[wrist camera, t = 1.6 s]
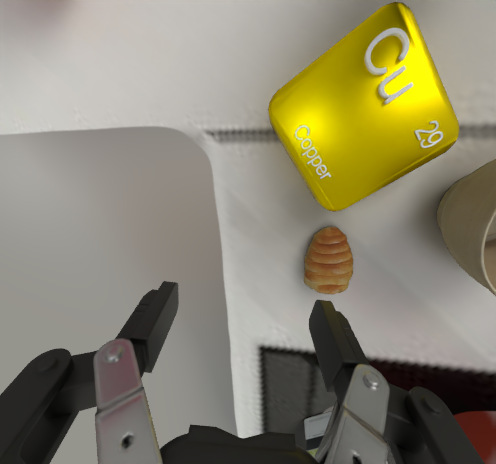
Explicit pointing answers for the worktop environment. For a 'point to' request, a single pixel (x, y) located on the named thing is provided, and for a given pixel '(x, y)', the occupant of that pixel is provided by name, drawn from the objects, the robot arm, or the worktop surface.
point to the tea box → (316, 431)
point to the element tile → (365, 110)
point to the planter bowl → (472, 224)
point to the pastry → (328, 262)
